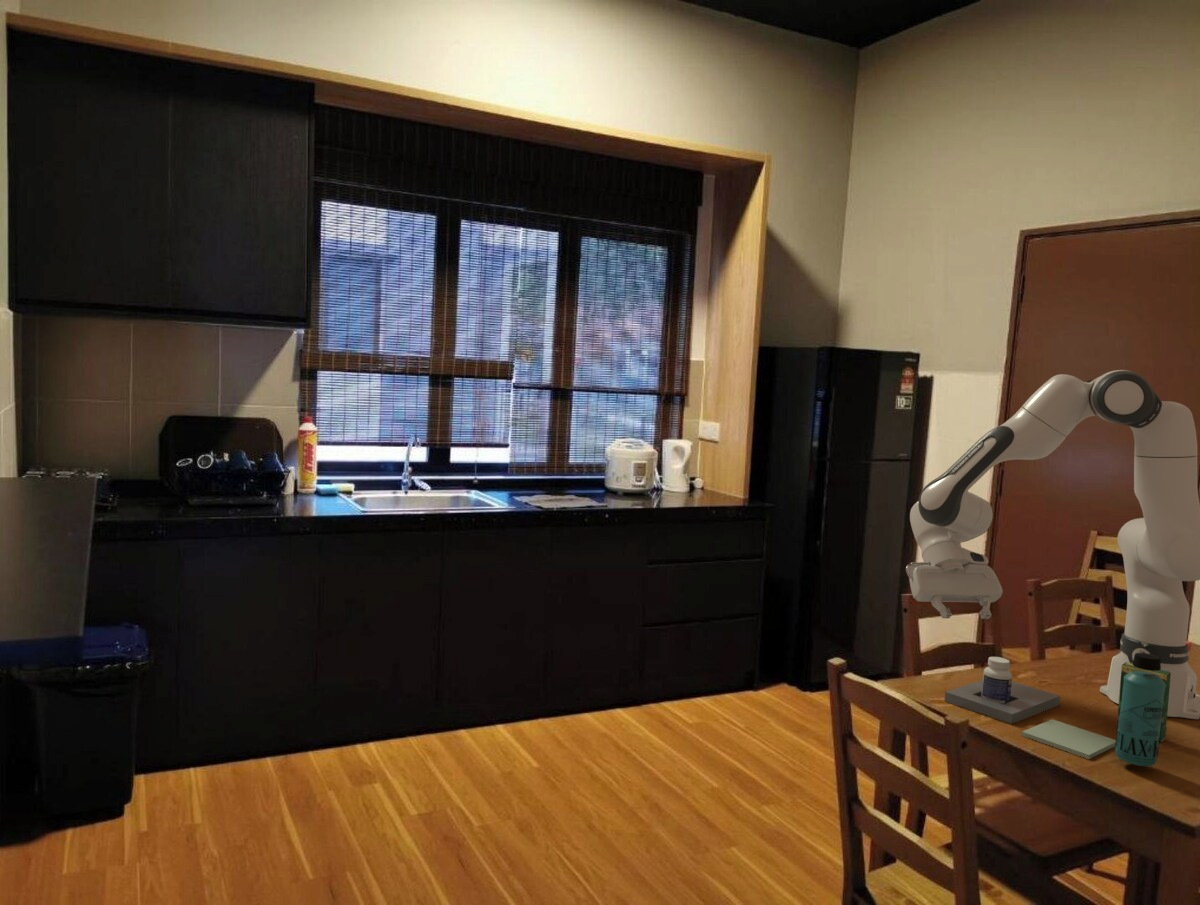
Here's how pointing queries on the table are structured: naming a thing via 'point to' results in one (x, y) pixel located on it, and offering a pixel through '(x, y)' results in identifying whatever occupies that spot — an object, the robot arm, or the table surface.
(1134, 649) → the robot arm
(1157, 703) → the beverage bottle
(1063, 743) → the mat
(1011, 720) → the frame
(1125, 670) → the coffee box
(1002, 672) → the pill bottle
